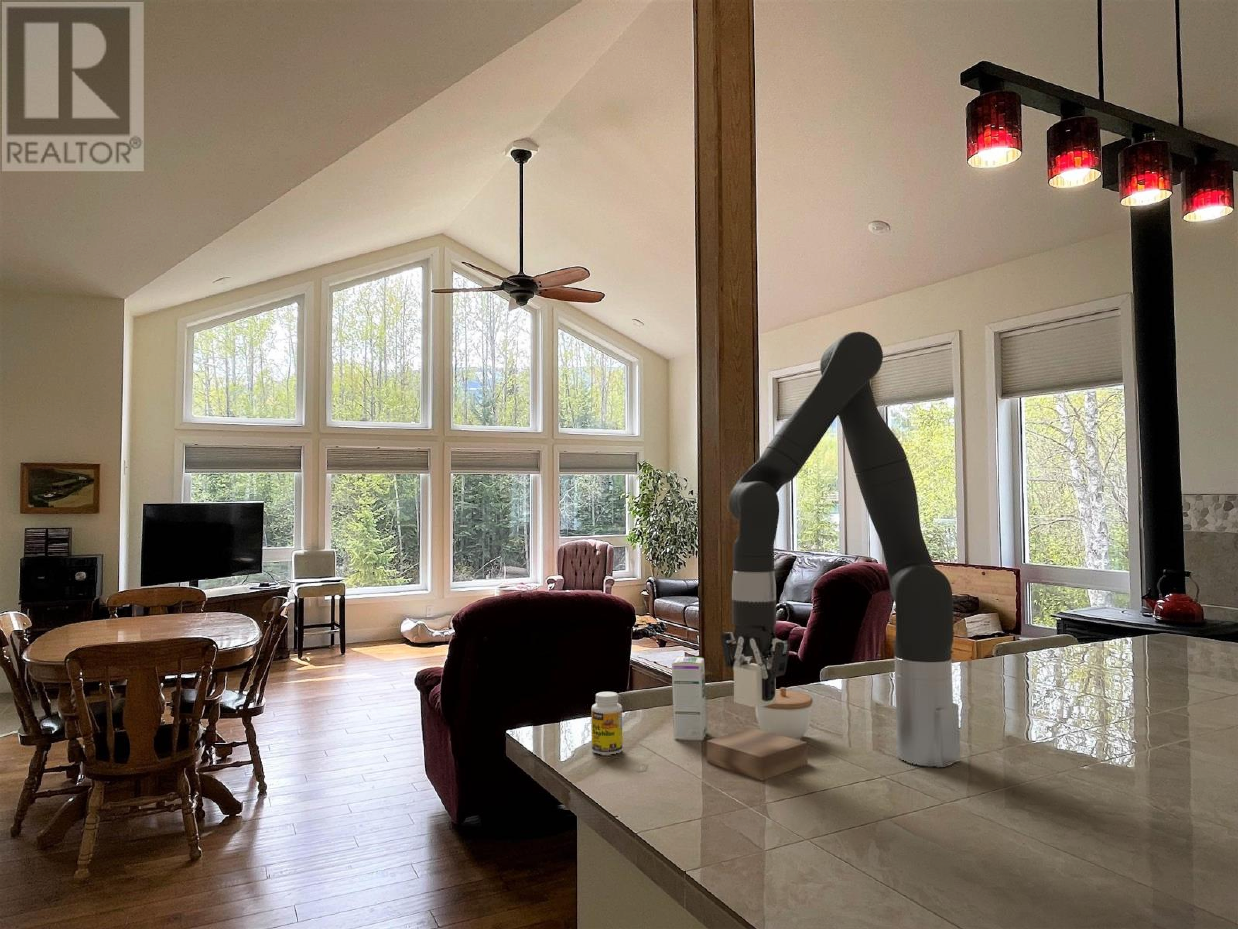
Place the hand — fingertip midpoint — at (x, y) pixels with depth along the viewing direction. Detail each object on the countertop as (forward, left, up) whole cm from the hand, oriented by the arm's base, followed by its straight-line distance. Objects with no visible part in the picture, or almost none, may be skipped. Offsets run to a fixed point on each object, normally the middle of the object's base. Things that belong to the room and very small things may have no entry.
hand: (754, 696), depth 135 cm
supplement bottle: (+22, +15, -11) cm, 29 cm away
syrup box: (+19, -3, -11) cm, 22 cm away
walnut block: (0, 0, -11) cm, 11 cm away
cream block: (0, 0, -1) cm, 1 cm away
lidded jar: (+6, -15, -11) cm, 20 cm away
